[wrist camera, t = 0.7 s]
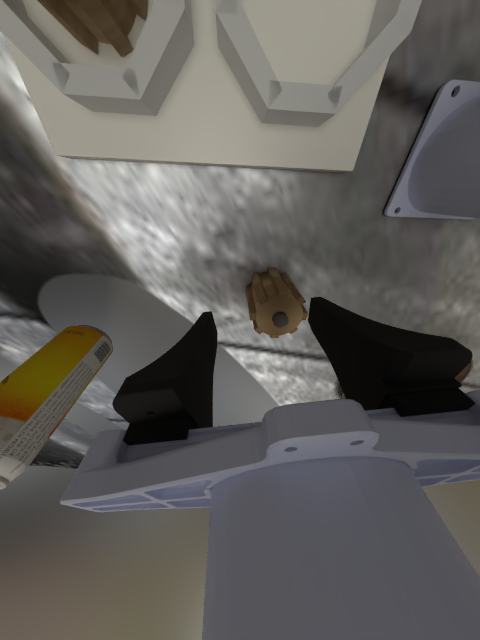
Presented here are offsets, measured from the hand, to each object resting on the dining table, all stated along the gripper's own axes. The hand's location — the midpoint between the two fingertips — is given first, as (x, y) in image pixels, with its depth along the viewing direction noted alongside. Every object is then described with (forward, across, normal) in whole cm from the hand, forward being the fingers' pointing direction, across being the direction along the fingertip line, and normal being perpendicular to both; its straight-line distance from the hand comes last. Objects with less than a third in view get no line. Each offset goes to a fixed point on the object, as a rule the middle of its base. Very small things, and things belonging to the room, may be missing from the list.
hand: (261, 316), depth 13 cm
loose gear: (+9, -2, +2) cm, 9 cm away
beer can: (+9, +23, +6) cm, 26 cm away
